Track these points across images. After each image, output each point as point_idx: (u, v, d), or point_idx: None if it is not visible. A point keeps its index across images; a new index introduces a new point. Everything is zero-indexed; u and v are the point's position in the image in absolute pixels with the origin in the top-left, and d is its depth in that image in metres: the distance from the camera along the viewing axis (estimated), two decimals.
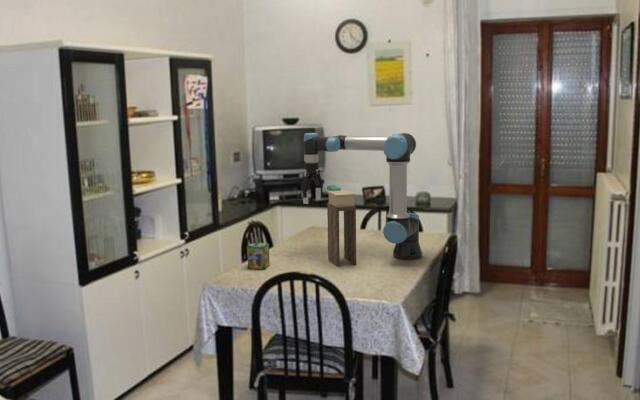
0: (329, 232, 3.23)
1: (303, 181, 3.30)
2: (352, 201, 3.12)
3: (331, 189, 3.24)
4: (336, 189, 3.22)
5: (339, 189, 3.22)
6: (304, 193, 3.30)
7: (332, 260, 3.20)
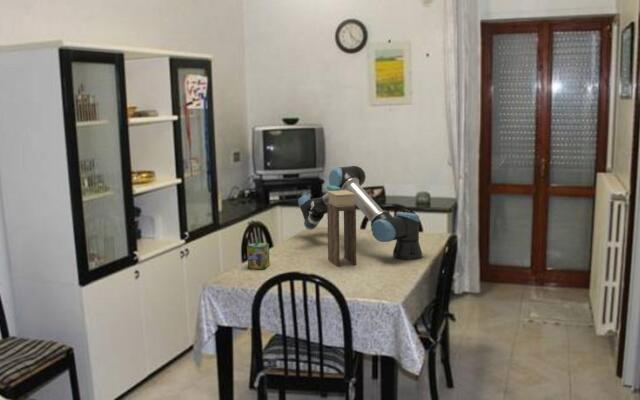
0: (329, 232, 3.23)
1: (306, 211, 3.51)
2: (352, 201, 3.12)
3: (331, 189, 3.24)
4: (336, 189, 3.22)
5: (339, 189, 3.22)
6: (308, 206, 3.46)
7: (332, 260, 3.20)
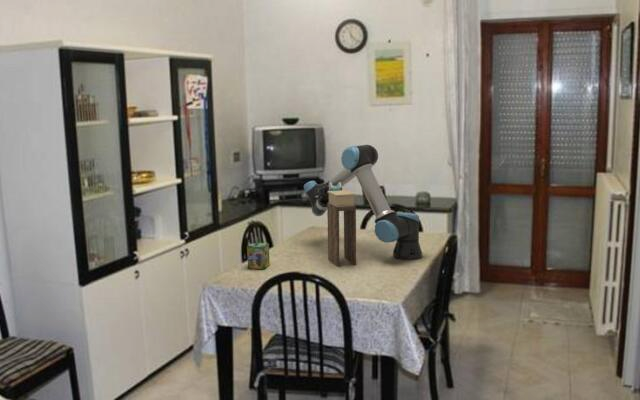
0: (329, 232, 3.23)
1: (319, 194, 3.32)
2: (352, 201, 3.12)
3: (331, 189, 3.24)
4: (336, 189, 3.22)
5: (339, 189, 3.22)
6: (325, 188, 3.27)
7: (332, 260, 3.20)
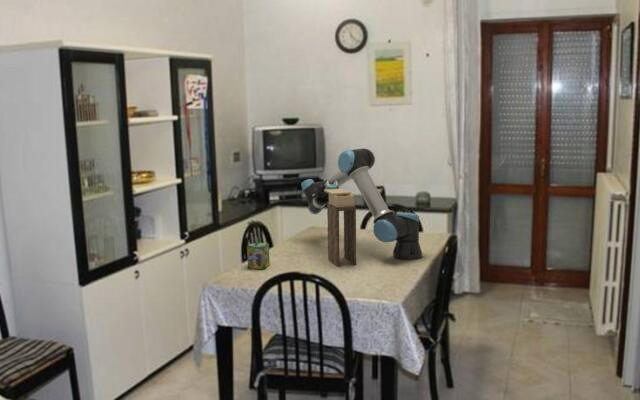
0: (329, 232, 3.23)
1: (316, 193, 3.38)
2: (352, 201, 3.12)
3: (328, 188, 3.30)
4: (332, 188, 3.27)
5: (335, 188, 3.28)
6: (322, 187, 3.33)
7: (332, 260, 3.20)
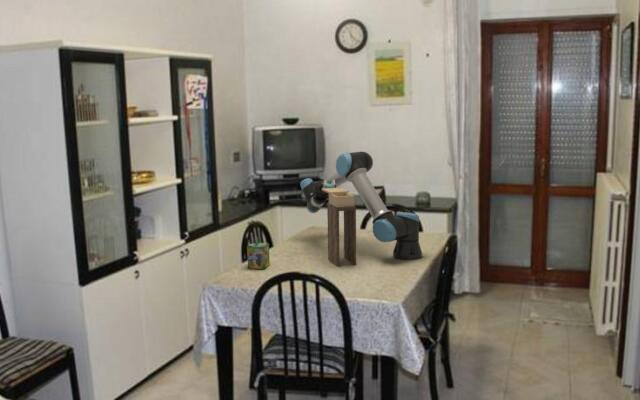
0: (329, 232, 3.23)
1: (313, 192, 3.42)
2: (352, 201, 3.12)
3: (325, 187, 3.34)
4: (330, 186, 3.31)
5: (333, 186, 3.32)
6: (320, 186, 3.37)
7: (332, 260, 3.20)
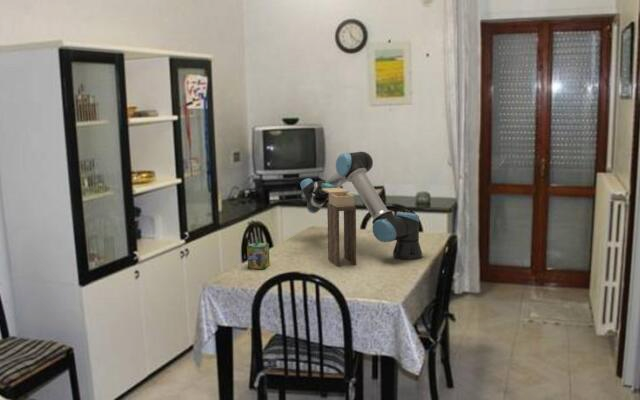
0: (329, 232, 3.23)
1: (309, 193, 3.43)
2: (352, 201, 3.12)
3: (325, 186, 3.34)
4: (330, 186, 3.31)
5: (333, 186, 3.32)
6: (311, 188, 3.38)
7: (332, 260, 3.20)
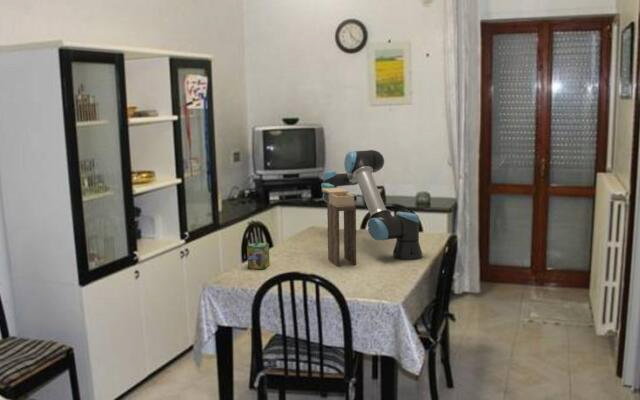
0: (329, 232, 3.23)
1: None
2: (352, 201, 3.12)
3: (325, 186, 3.34)
4: (330, 186, 3.31)
5: (333, 186, 3.32)
6: None
7: (332, 260, 3.20)
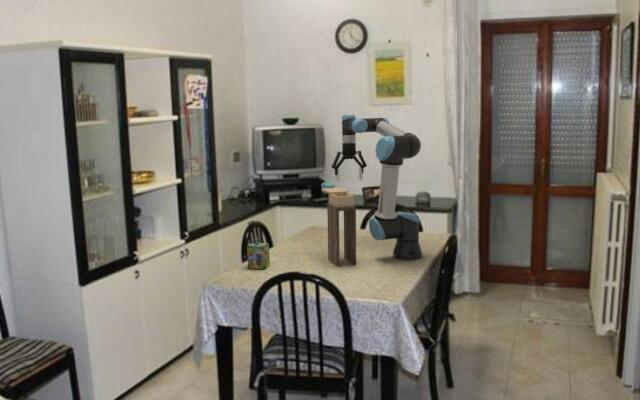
0: (329, 232, 3.23)
1: (335, 159, 3.52)
2: (352, 201, 3.12)
3: (325, 186, 3.34)
4: (330, 186, 3.31)
5: (333, 186, 3.32)
6: (335, 170, 3.53)
7: (332, 260, 3.20)
